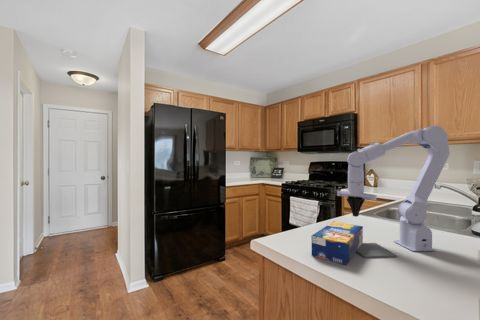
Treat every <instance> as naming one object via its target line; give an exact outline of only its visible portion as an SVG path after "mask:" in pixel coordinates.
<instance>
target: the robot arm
mask: <svg viewBox="0 0 480 320" xmlns="http://www.w3.org/2000/svg"><path fill="white" fill-rule="evenodd" d="M448 139H449V134H448V133H447V131H445V129H444V128H443V127H441V126H439V125H429V126H427V127H425V128H420V129H416V130H413V131H408V132H406V133H403V134H402V135H399V136H397V137H395V138H392V139H390V140H388V141H386V142H384V143H379V142H375V143H374V142H371V143H370V144H369V145H367V146H365V147H363V148H358V149H357V151H353V152H351V153H349V155H348V156H347V159H346V162H347V164H348V167H347V191H345V190H338V191H337V192H336V196H338V197H347V198H346V201H347V203H348V205H349V207H350V210H351V213H352V216H353V217H359V214H360V211H361V209H362V207H363V204H364V202H365V201H366V200H369V201H377V197H378V196H377V195H376V194H371V193H366V192H365V170H364V164H365V163H369V162H372V161H374V160H377V159H380V158H382V157H384V156H385V154H386V152H388V151H390V150H393V149H395V148H399V147H401V146H403V145H406V144H418V145H419V146H420V147H422V148H423V149H424V150H425V152H426V154H427V155H428V156H427V158H426V161H425V163H424V165H423V166H422V169H421V171H420V173H419V175H418V177H417V179H416V181H415V183H414V186H413V188H412V190H411V192H410V193H409V195H407V196H406V197H405V199H404V200H403V202H401V203H400V204H398V208H397V210H398V213H399V214H400V218H399V239H398V240H397V239H394V240H393V242H394V243H396V244H397V245H400V246H402V247H403V248H406V249H408V250H410V251H412V252H432V251H433V252H434V251H435V249H434V248H433V231H432V230H431V229H430V227H428V226H427V225H426V224H425V221H426V220H427V217H428V216H427V215H428V213H427V210H428V208H429V204H428V199H429V197H430V195H431V193H432V192H433V189H434V187H435V185H436V183H437V181H438V180H439V178H440V175H441V173H442V170H443V169H444V166H445V165H446V162H447V160H448V159H449V156H450V147H449V141H448Z"/></svg>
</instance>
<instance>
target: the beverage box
mask: <svg viewBox="0 0 480 320" xmlns="http://www.w3.org/2000/svg"><path fill="white" fill-rule="evenodd" d="M363 235H364V226H363V225H356V224H351V223H344V222H341V221H339V222H338V221H331V223H329V224H327V225H326V226H324V227H322V228H321V229H320V230H318V231H317V232H315V233H313V234H312V235H311V257H315V258H318V259H322V260H326V261H330V262H333V263H336V264H340V265H344V266H347V265H348V263H349V262H350V261H351V259H352V258H353V257H354V256H355V255H356V253H357V252H356V250H357V249H358V248H359V246H360V245H361V244H362V243H364V241H363V239H364V236H363Z"/></svg>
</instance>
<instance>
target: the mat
mask: <svg viewBox="0 0 480 320" xmlns="http://www.w3.org/2000/svg"><path fill="white" fill-rule="evenodd" d="M356 253H357V254H358V255H360V256H362V258H364V259H375V258H376V259H378V258H380V259H381V258H397V257H398V255H397V254H396V253H394V252H392V251H390V250H389V249H387V248H385V247H383V246H382V245H380V244H378V243H377V242H363V243H362V244H361V245H360V246H359V248H358V249H357V250H356Z"/></svg>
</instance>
